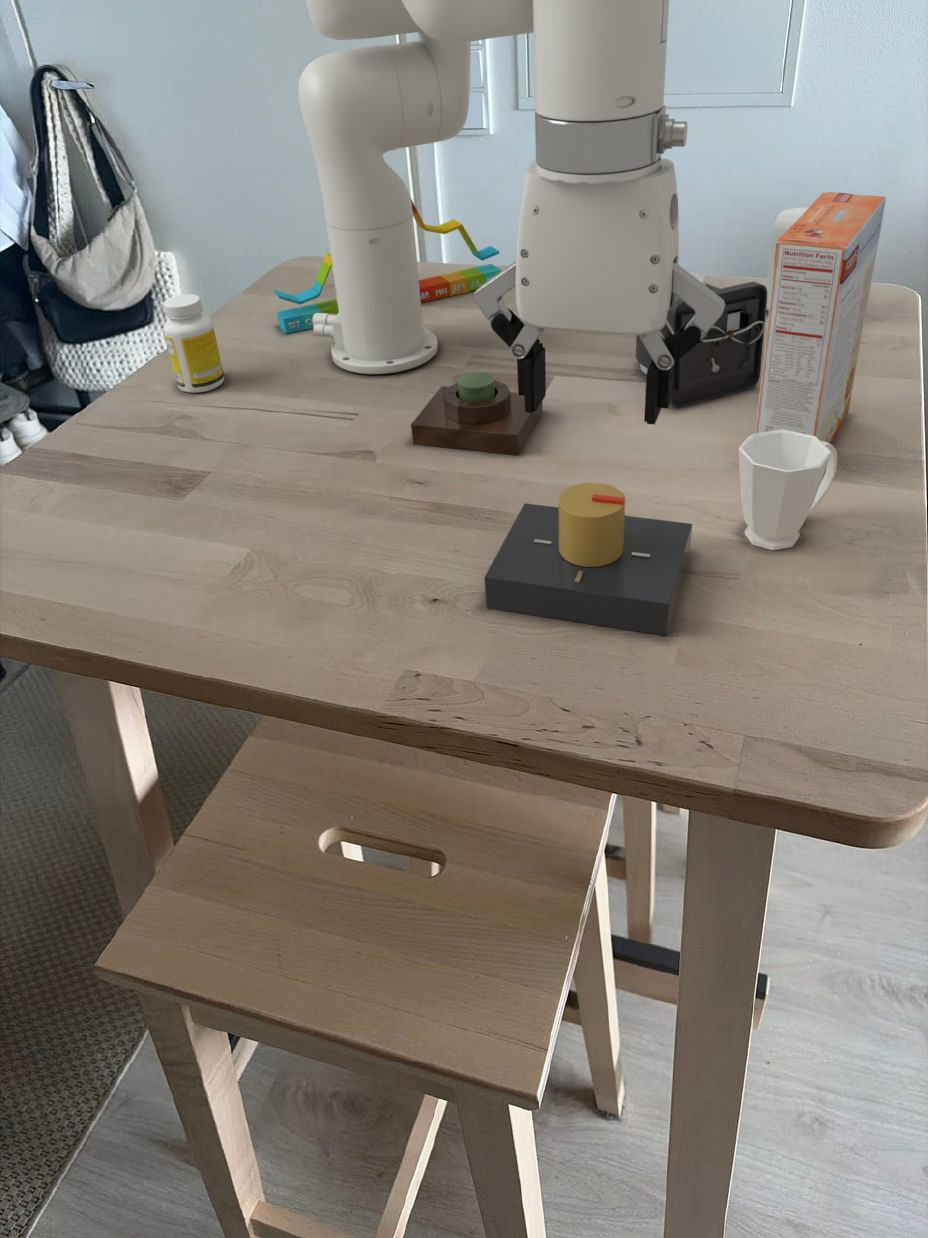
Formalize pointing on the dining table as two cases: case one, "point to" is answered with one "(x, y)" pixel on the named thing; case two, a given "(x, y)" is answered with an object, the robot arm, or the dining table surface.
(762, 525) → the cup
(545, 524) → the dimmer panel
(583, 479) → the dining table surface
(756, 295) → the light fixture
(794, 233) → the cracker box
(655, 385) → the robot arm
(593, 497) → the dimmer
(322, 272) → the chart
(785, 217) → the photo printer
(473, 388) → the switch
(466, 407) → the lamp base
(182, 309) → the supplement bottle
